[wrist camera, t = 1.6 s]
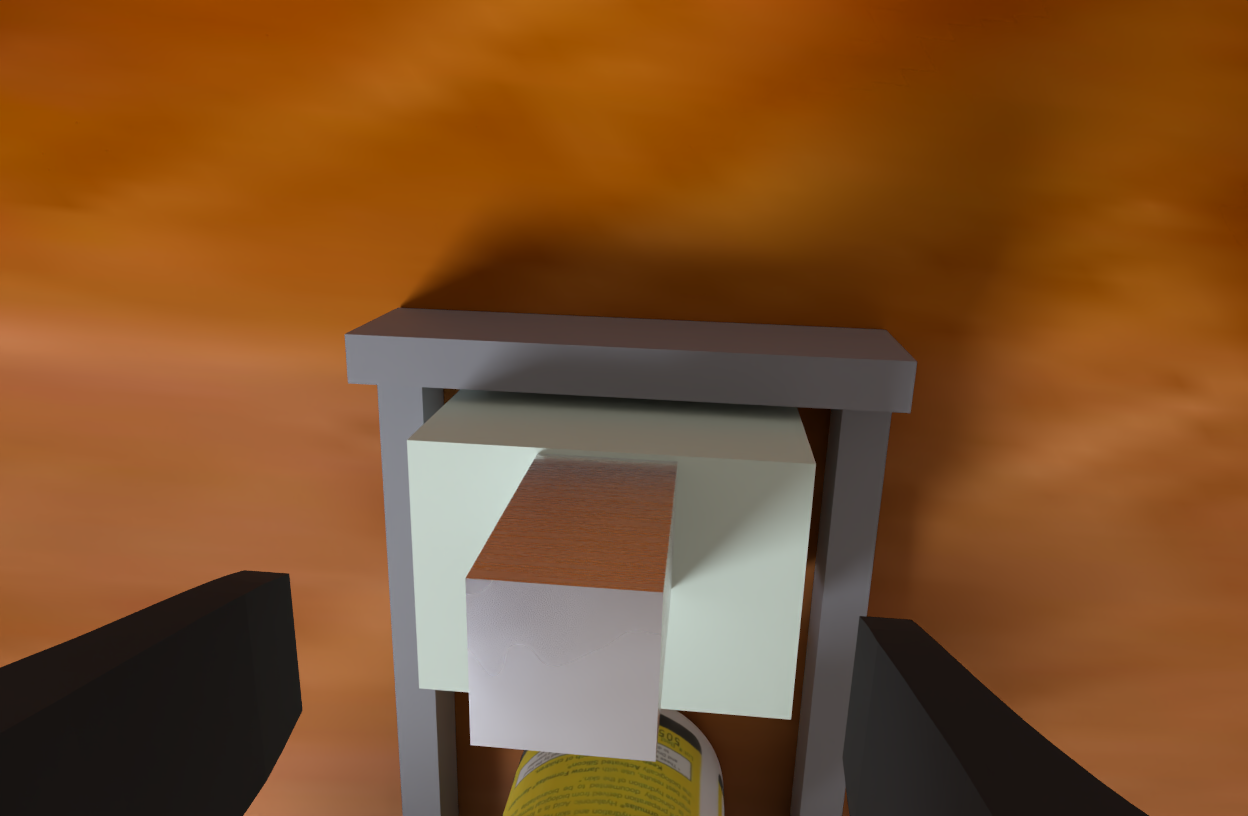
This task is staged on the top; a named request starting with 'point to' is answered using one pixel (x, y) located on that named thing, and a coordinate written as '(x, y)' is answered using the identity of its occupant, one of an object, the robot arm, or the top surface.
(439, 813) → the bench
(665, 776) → the supplement bottle
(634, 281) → the top surface
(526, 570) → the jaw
